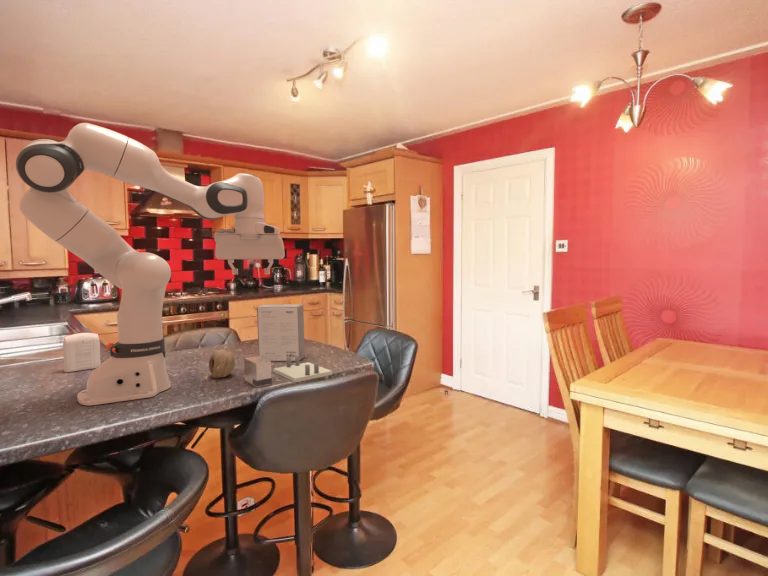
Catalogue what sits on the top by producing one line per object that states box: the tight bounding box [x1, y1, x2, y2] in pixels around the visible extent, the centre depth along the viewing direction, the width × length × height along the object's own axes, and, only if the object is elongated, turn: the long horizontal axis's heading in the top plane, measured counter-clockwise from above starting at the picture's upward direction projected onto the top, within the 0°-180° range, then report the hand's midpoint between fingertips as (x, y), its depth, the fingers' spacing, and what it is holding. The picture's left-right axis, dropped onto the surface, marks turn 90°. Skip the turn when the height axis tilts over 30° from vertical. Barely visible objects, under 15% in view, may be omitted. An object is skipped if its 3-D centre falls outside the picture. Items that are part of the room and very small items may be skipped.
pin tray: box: [272, 356, 333, 383], centre depth 139 cm, size 13×15×4 cm
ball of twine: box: [208, 346, 236, 379], centre depth 137 cm, size 9×8×10 cm
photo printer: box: [62, 332, 102, 373], centre depth 145 cm, size 10×4×12 cm, turn 135°
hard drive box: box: [256, 304, 306, 362], centre depth 159 cm, size 16×8×20 cm, turn 84°
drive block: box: [243, 355, 273, 388], centre depth 130 cm, size 5×9×7 cm, turn 40°
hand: (251, 274), depth 132 cm, fingers open, 8 cm apart
